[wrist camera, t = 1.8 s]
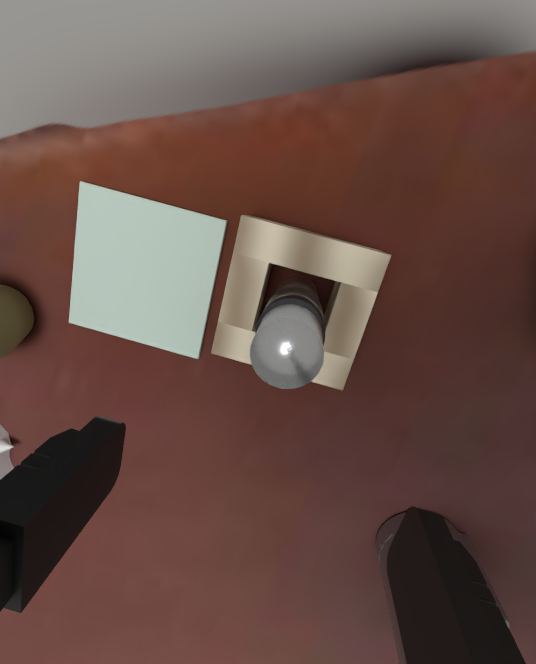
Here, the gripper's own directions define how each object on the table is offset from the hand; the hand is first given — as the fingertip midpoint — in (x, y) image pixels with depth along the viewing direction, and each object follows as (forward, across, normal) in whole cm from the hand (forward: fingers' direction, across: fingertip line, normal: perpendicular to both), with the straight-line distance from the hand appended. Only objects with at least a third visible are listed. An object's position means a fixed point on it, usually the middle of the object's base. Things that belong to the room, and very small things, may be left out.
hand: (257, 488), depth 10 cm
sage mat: (+26, +15, +2) cm, 30 cm away
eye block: (+26, 0, 0) cm, 26 cm away
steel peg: (+26, 0, 0) cm, 26 cm away
